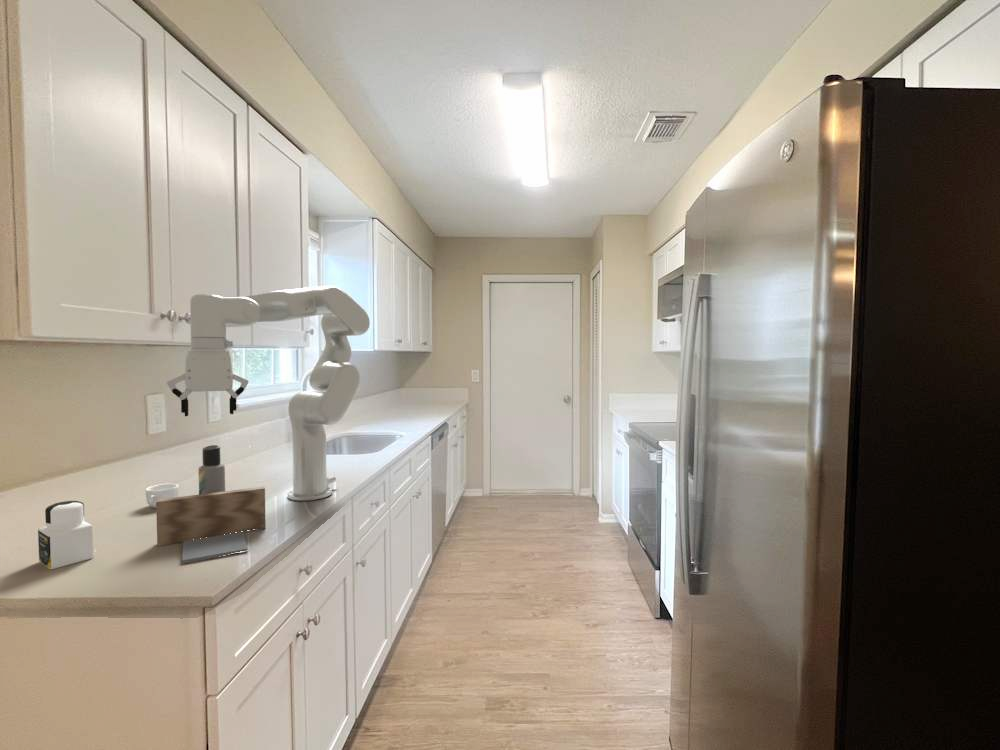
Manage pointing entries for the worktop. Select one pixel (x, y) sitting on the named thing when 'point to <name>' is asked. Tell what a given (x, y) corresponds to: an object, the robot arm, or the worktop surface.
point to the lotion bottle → (211, 471)
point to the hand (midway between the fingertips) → (209, 414)
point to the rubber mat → (213, 547)
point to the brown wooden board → (209, 515)
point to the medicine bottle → (65, 535)
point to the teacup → (161, 493)
